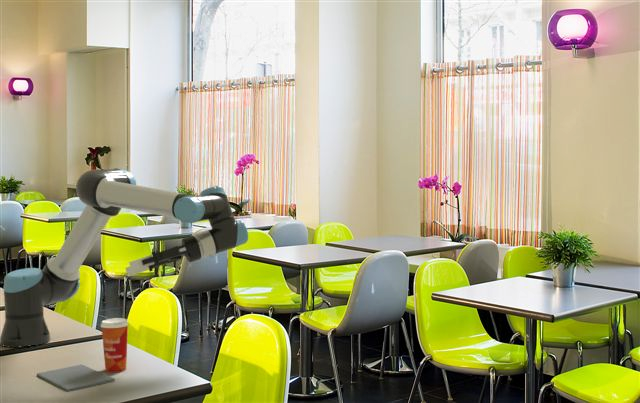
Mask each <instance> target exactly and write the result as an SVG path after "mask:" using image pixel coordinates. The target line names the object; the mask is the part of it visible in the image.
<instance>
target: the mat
mask: <svg viewBox="0 0 640 403" xmlns="http://www.w3.org/2000/svg"><path fill="white" fill-rule="evenodd" d="M36 376H37V377H39V378H41V379H42V380H45V381H47V382H49V383H51V384H53V385H54V386H57V387H58V388H60V389H63V390H64V391H66V392H71V391H75V390H80V389H85V388H89V387H93V386H98V385H102V384H107V383H111V382H112V383H113V382H115V380H116V379H115V378H114V377H111V376H109V375H108V374H105V373H103V372H100V371H98V370H96V369H93V368H91V367H89V366H87V365H85V364H77V365H71V366H66V367H62V368H58V369H57V368H56V369H53V370H48V371H42V372H38V373H37V372H36Z"/></svg>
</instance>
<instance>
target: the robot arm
mask: <svg viewBox="0 0 640 403" xmlns="http://www.w3.org/2000/svg"><path fill="white" fill-rule="evenodd" d="M75 184H76V186H75V190H76V195H77V197H78V199H79V200H80V202H82V204H84V205H86V206H85V207H84V209H83V210H82V212H81V213H80V215H79V217H78V218H77V221H76V222H75V224H74V226H72V229H71V231H70V232H69V234H68V236H67V237H66V239H65V241H64V242H63V244H62V245H61V247H60V249H59V251H58V252H57V253H56V256H53V257H50V258H49V259H47V262H46V263H45V265H44V266H43V269H41V268H38V267H37V268H36V267H26V268H20V269H16V270H13V271H10V272H9V273H7V274H6V275H5V276H4V279H3V281H4V282H3V296H4V298H3V300H4V301H3V302H4V314H5V315H4V317H5V318H4V319H5V320H4V325H3V327H2V330H1V334H0V344H1V345H4V346H9V347H8V348H13V347H17V348H20V347H19V346H29V345H36V346H39V345H38V344H41V345H44V344H47V343H49V342H50V341H51V333H50V331H49V328H48V325H47V323H46V320H45V316H44V306H48V305H53V304H56V303H61V302H64V301H67V300H69V299H71V298H73V297H74V296H76V294H77V293H78V291H79V288H80V285H81V282H80V280H81V279H80V278H81V272H80V268H81V267H82V265H83V263H84V261H85V259H86V258H87V256H88V255H89V253H90V251H91V250H92V248H93V247H94V245H95V243H96V241H97V240H98V238H99V236H100V235H101V233H102V232H103V230H104V229H105V227H106V225H107V224H108V222H109V220H110V219H111V218H113V217H116V216H118V215H119V213H120V211H121V210H122V209H126V210H130V211H137V212H140V213H141V212H142V213H147V214H152V215H157V216H163V217H169V218H174V219H177V220H178V221H179V222H181V223H185V224H186V223H188V224H194V223H197V222H203V221H208V222H209V225H210V227H211V229H208V230H207V229H206V230H204V231H201V232H198V233H196V234H195V235H192V234H191V235H189V236H185V237H182V239H181V245H176V246H173V247H171V248H169V249H165V250H162V251H157V252H156V251H155V250H154V251H152V252H151V254H150V255H147V256H144V257H141V258H138V259H135V260H131V261H128V263H129V266H127V267H125V272H126V275H127V278H129V277H131V276H135V275H138V274H140V273H143V272H147V271H149V272H153V271H154V269H156V268H158V267H161V266H164V265H166V264H171V263H174V262H178V261H181V260H182V259H183V257H185V258H186V260H187V262H189V263H193V262H196V261H198V260H201V258H207V257H209V258H213V257H214V256H213V255H215V254H216V255H217V254H220V253H223V252H225V251H226V252H227V251H228V250H232V249H235V248H237V247H240V246H242V245H244V244H246V243H247V242H248V241H249V232H248V229H247V226H246V225H245V222H244V221H243V220H241V219H239V220H237V219H236V218H235V217H234V216H235V215H234V213H233V211H232V208H231V205H230V202H229V199H228V196H227V194H226V192H225V189H224V187H223V186H221V185H214V186H211V187H208V188H206V189H203V190H202V191H201V192H200V193H199V195H195V194H187V193H181V192H176V191H169V190H165V189H159V188H152V187H150V186H149V187H148V186H143V185H137V180H136V179H135V176H134V175H133V174H132V173H131V172H130V171H128V170H126V169H123V168H110V169H107V168H106V169H105V168H103V169H97V168H96V169H90V170H88V171H86V172H84V173H82V174H81V175H80V176H79V177H78V179H77V182H76V183H75ZM48 341H49V342H48ZM46 342H47V343H46ZM43 343H44V344H43ZM1 345H0V346H1ZM4 346H3V347H4Z"/></svg>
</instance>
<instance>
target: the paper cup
mask: <svg viewBox="0 0 640 403" xmlns="http://www.w3.org/2000/svg"><path fill="white" fill-rule="evenodd" d="M128 326H129V322H128V320H127V318H122V317H113V318H112V317H111V318H107V319H104V320H102V321H101V324H100V328H101V334H102V335H101V336H102V346H103V356H104V358H103V360H104V367H105V371H106V372H107V373H121V372H125V371H126V370H127V361H128V360H127V356H128V354H127V353H128V351H127V350H128V330H129V329H128Z"/></svg>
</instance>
